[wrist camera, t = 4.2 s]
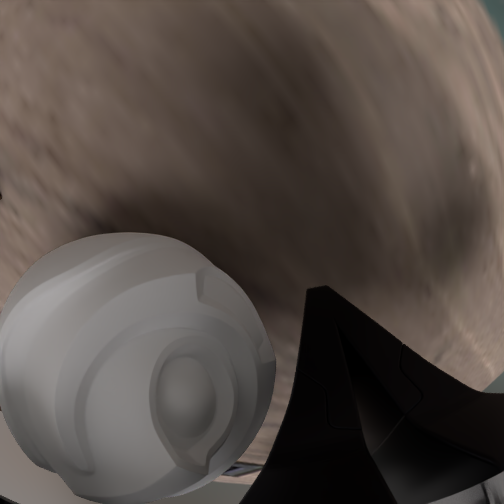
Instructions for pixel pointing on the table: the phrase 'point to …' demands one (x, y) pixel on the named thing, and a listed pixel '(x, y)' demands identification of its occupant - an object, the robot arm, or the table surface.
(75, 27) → the table surface
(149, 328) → the white carved ball
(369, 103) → the table surface
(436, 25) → the table surface
